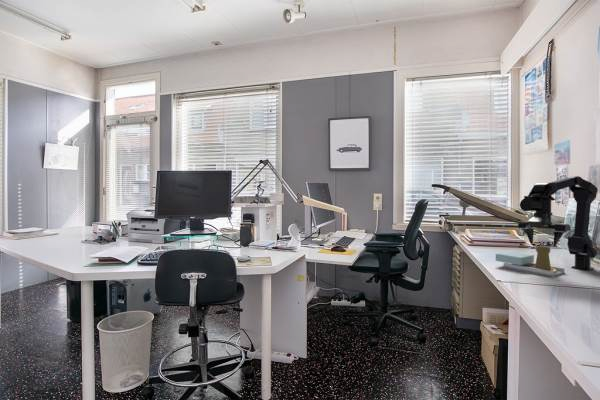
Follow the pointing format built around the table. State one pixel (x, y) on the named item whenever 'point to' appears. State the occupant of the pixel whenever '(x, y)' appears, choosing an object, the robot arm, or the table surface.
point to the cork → (543, 258)
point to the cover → (515, 258)
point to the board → (531, 269)
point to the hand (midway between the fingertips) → (542, 245)
